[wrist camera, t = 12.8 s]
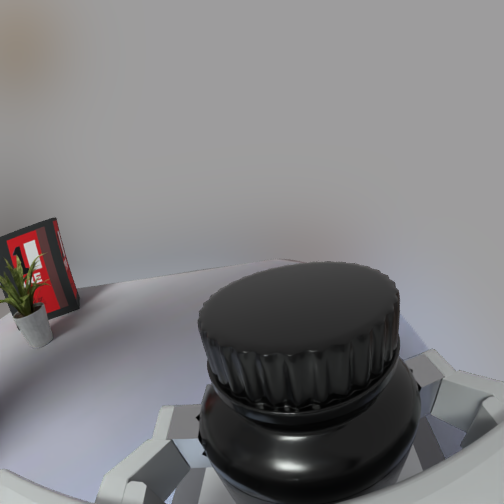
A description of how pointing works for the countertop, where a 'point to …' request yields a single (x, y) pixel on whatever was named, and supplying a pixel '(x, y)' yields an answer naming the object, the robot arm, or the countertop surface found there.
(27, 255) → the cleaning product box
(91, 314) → the countertop surface
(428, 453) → the kitchen scale
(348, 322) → the supplement bottle
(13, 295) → the house plant
